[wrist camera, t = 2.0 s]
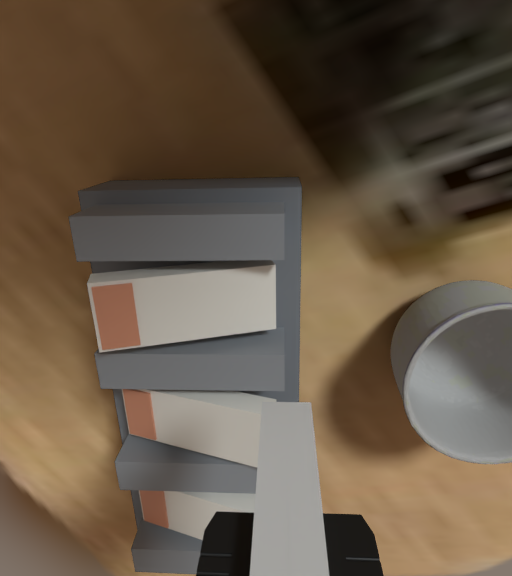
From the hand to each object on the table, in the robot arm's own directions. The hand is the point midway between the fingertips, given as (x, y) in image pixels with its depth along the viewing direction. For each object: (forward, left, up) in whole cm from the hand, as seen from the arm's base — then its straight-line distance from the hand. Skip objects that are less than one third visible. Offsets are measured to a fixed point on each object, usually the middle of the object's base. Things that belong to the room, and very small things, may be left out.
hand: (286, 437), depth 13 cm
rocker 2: (+8, -5, -11) cm, 15 cm away
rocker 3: (+16, -5, -11) cm, 20 cm away
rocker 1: (0, -5, -11) cm, 12 cm away
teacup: (+5, +14, -19) cm, 24 cm away
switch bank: (+8, -5, -18) cm, 21 cm away
